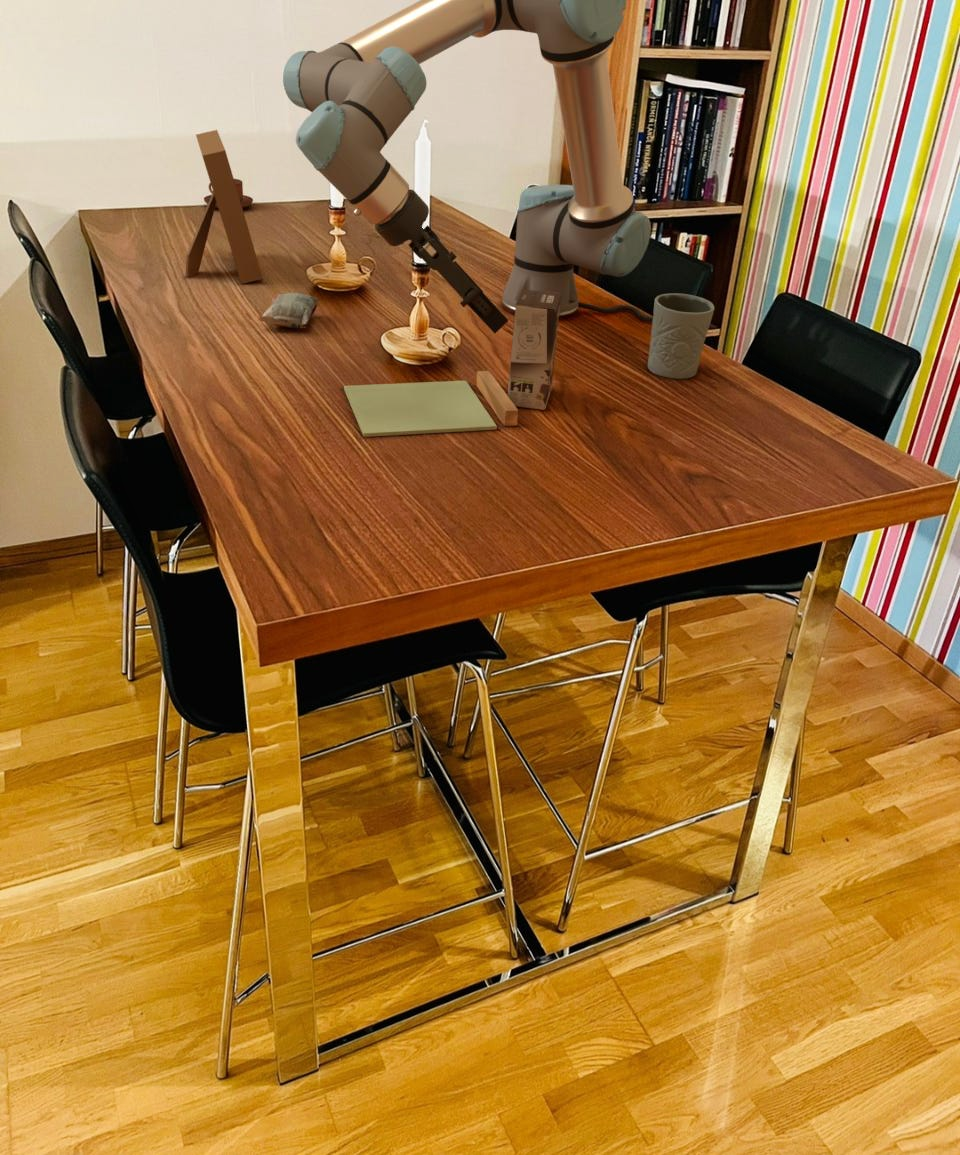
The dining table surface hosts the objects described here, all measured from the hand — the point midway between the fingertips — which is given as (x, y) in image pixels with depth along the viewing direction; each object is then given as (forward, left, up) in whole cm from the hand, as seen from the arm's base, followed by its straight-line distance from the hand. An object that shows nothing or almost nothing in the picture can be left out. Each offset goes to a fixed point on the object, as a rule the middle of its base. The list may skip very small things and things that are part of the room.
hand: (488, 311), depth 151 cm
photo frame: (+36, -74, -14) cm, 83 cm away
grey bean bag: (+26, -39, -14) cm, 49 cm away
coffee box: (-8, 0, -14) cm, 17 cm away
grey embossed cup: (-37, -9, -14) cm, 41 cm away
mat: (+11, +2, -14) cm, 18 cm away
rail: (-2, +2, -14) cm, 15 cm away
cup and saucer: (+31, -128, -14) cm, 133 cm away
